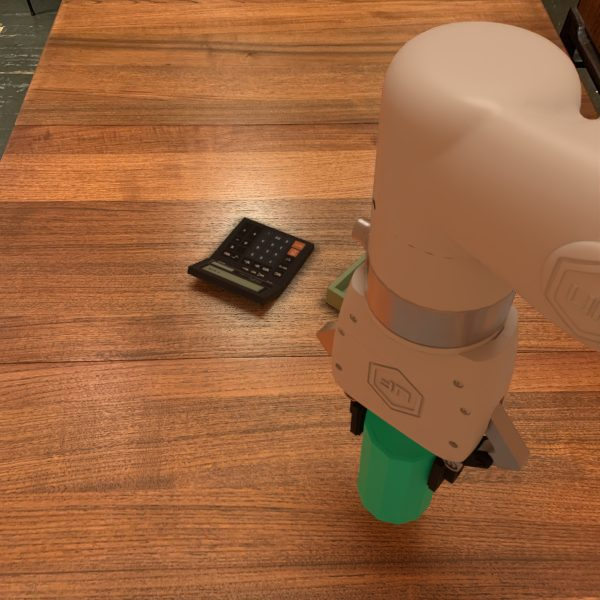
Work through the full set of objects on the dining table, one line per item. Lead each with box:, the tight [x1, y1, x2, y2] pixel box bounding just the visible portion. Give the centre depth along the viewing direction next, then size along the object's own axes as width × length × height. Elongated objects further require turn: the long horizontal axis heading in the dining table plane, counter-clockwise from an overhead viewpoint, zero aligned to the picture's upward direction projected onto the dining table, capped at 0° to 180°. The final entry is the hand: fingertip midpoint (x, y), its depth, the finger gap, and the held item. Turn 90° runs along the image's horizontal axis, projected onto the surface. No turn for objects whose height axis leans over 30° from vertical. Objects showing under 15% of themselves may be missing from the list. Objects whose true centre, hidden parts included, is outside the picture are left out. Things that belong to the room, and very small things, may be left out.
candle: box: [356, 409, 437, 526], centre depth 48 cm, size 6×6×12 cm
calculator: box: [186, 216, 315, 307], centre depth 73 cm, size 9×12×3 cm
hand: (403, 446), depth 47 cm, fingers closed on candle, 5 cm apart
